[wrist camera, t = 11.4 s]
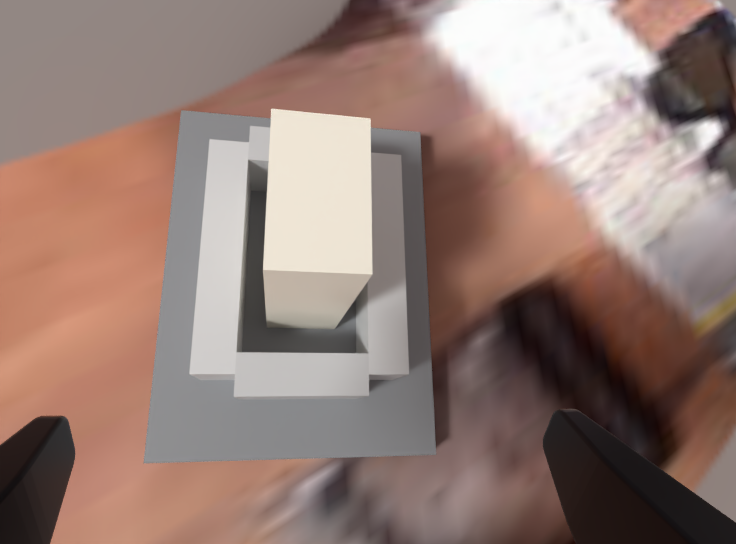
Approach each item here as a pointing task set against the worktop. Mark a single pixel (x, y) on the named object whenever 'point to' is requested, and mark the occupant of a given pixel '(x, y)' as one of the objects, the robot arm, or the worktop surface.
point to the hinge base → (286, 345)
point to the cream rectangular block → (316, 218)
